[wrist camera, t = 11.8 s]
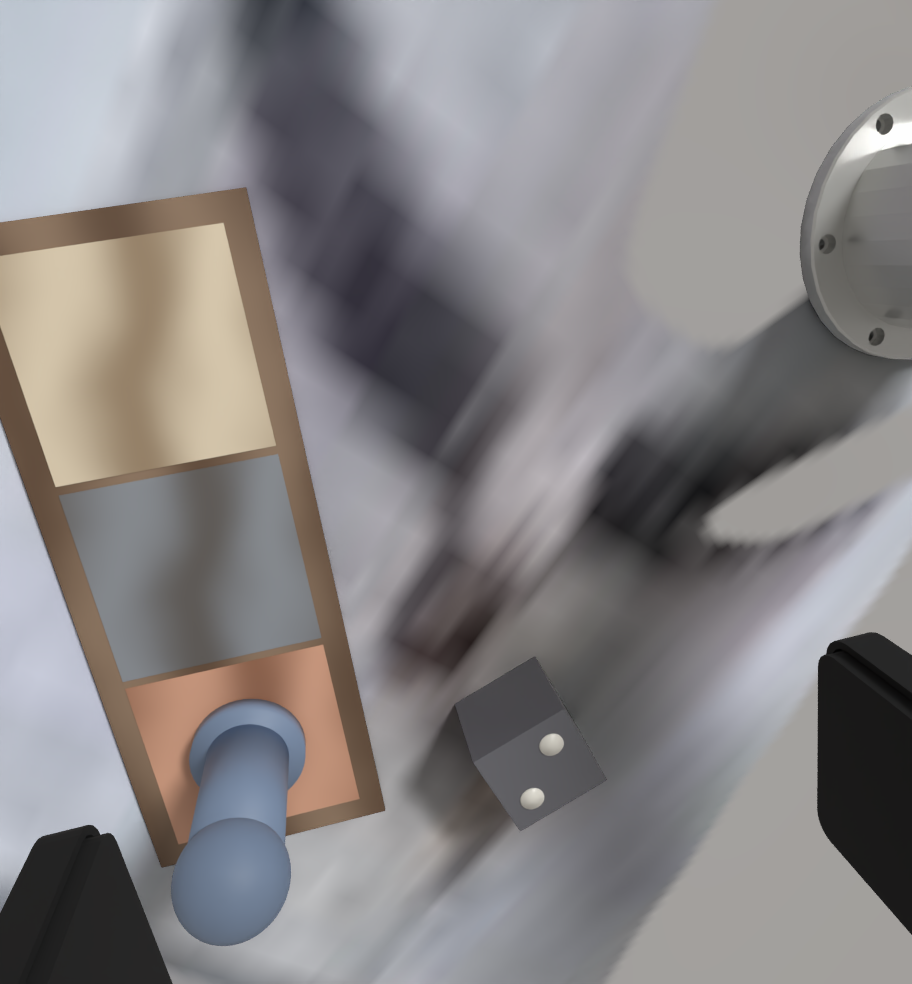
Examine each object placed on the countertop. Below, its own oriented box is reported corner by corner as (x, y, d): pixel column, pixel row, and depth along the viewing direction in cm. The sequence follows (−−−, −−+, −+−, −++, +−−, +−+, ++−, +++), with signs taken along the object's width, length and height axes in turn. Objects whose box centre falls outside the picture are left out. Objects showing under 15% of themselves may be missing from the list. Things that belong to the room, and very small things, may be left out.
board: (246, 188, 30) (245, 187, 30) (385, 808, 41) (385, 810, 40) (-65, 232, 29) (-67, 232, 29) (162, 865, 39) (161, 867, 39)
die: (534, 655, 40) (564, 709, 35) (573, 720, 41) (607, 780, 37) (454, 703, 40) (473, 763, 35) (497, 766, 41) (520, 832, 37)
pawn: (292, 687, 37) (284, 849, 27) (315, 777, 39) (316, 961, 29) (179, 713, 36) (126, 890, 26) (208, 804, 38) (169, 1002, 28)
